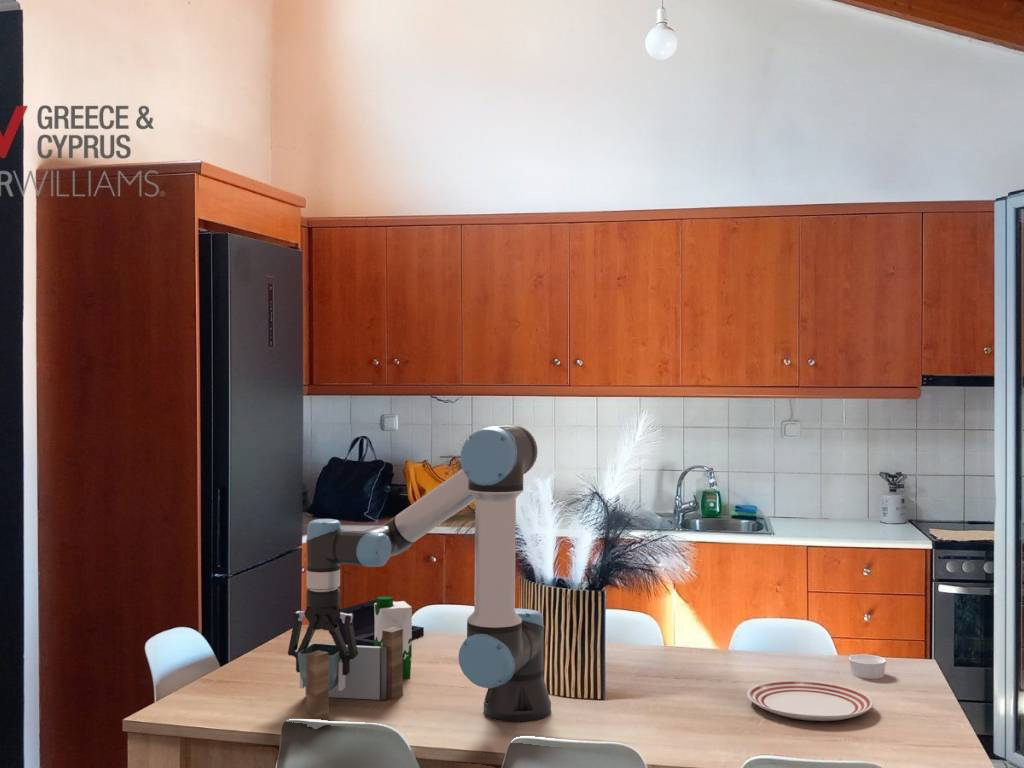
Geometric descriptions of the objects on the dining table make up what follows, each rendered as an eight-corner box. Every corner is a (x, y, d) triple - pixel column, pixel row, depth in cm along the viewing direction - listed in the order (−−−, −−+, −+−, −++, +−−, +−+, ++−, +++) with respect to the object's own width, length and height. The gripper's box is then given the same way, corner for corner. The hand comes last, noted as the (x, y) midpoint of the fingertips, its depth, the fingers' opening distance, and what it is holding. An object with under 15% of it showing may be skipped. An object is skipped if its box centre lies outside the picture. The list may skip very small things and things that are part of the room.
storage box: (378, 652, 274) (378, 616, 274) (333, 644, 283) (333, 608, 283) (423, 635, 292) (423, 601, 292) (380, 628, 300) (380, 595, 300)
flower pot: (333, 695, 222) (333, 655, 222) (296, 693, 224) (296, 653, 223) (348, 684, 230) (348, 645, 230) (312, 681, 232) (312, 642, 232)
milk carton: (371, 673, 254) (371, 594, 254) (405, 669, 257) (405, 591, 257) (379, 683, 246) (379, 601, 246) (415, 679, 249) (415, 599, 249)
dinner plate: (723, 698, 235) (723, 684, 235) (820, 686, 245) (820, 672, 245) (795, 738, 210) (795, 722, 210) (900, 722, 219) (900, 707, 219)
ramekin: (850, 679, 250) (850, 662, 250) (847, 669, 258) (847, 652, 258) (888, 682, 248) (888, 664, 248) (883, 672, 256) (883, 655, 256)
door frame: (402, 696, 235) (402, 628, 235) (316, 731, 212) (316, 656, 212) (392, 694, 237) (393, 627, 237) (306, 728, 214) (306, 653, 214)
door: (389, 696, 234) (389, 644, 234) (385, 700, 231) (385, 648, 231) (310, 691, 237) (310, 641, 237) (305, 695, 234) (305, 644, 234)
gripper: (373, 586, 229) (372, 685, 229) (285, 582, 232) (284, 680, 232) (363, 593, 221) (362, 695, 222) (272, 589, 225) (271, 690, 225)
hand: (322, 687), depth 227 cm, fingers closed on flower pot, 8 cm apart
